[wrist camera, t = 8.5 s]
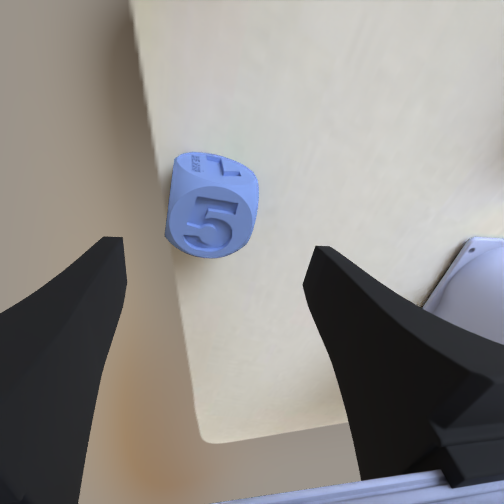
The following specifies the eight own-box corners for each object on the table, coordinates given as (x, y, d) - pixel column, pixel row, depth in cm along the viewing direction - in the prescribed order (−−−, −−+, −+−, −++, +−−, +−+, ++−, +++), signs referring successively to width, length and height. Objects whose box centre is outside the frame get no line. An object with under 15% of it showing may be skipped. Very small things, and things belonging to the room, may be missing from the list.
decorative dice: (250, 161, 16) (265, 193, 13) (233, 224, 19) (242, 263, 15) (175, 145, 15) (172, 175, 12) (167, 214, 17) (162, 254, 14)
